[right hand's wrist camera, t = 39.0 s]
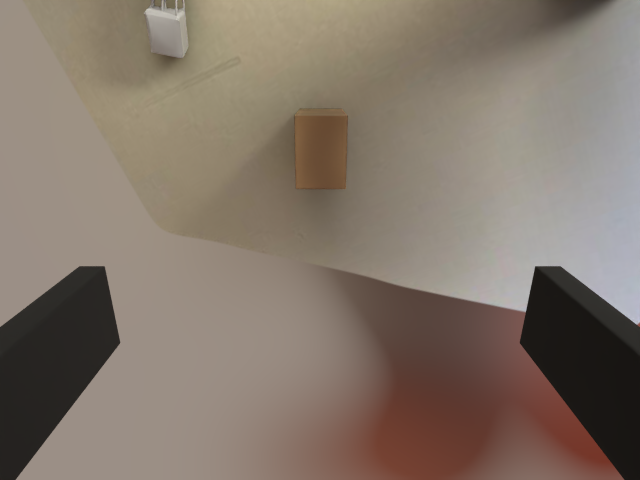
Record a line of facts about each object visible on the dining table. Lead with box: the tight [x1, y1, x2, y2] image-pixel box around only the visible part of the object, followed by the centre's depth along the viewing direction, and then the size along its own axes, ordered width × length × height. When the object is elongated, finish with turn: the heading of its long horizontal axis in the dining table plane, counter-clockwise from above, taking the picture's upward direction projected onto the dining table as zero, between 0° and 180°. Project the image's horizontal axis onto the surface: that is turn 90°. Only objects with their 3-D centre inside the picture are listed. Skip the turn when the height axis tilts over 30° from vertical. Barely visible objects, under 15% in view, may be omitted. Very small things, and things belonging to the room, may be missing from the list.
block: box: [295, 109, 348, 189], centre depth 44 cm, size 5×7×10 cm
